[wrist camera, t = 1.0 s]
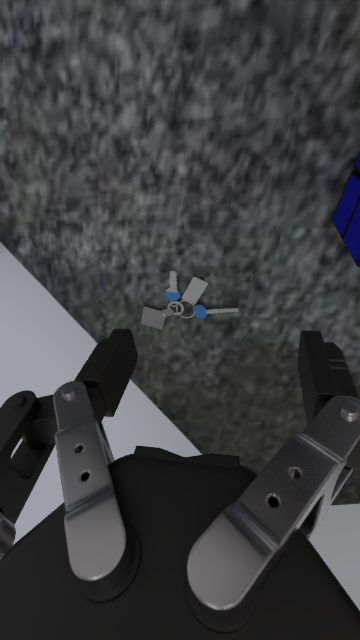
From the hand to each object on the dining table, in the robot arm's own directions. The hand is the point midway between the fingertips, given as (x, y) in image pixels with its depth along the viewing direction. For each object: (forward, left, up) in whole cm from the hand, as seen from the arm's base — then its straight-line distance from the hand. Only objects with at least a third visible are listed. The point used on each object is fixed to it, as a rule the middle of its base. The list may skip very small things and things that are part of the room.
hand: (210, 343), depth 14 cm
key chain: (+13, -6, -22) cm, 26 cm away
